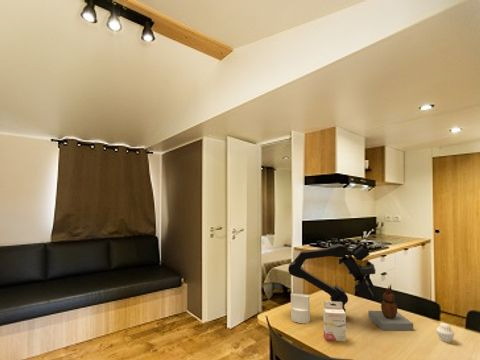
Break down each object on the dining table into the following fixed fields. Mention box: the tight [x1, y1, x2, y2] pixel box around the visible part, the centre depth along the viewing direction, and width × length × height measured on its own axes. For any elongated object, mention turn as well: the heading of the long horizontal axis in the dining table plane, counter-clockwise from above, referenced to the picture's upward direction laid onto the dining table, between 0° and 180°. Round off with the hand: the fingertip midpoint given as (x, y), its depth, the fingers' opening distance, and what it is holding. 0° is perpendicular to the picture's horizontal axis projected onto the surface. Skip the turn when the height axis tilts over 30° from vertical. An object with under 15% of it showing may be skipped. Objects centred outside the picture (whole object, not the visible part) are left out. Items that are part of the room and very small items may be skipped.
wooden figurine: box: [380, 284, 398, 318], centre depth 133 cm, size 7×6×15 cm
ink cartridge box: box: [322, 300, 347, 342], centre depth 119 cm, size 9×5×15 cm, turn 84°
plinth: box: [367, 310, 414, 331], centre depth 133 cm, size 14×14×3 cm
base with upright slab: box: [290, 292, 311, 324], centre depth 137 cm, size 9×9×12 cm
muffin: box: [436, 322, 455, 343], centre depth 117 cm, size 6×6×7 cm
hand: (373, 293), depth 136 cm, fingers open, 9 cm apart
